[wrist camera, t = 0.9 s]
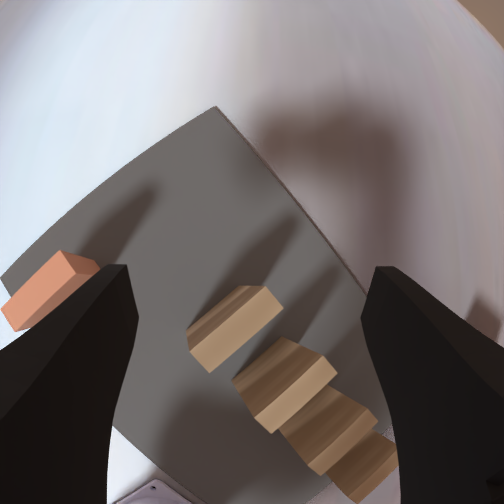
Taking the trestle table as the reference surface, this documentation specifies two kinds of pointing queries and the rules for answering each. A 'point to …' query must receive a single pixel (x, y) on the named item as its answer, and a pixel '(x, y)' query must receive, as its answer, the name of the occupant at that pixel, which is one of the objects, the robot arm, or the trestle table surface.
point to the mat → (205, 298)
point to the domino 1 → (48, 289)
